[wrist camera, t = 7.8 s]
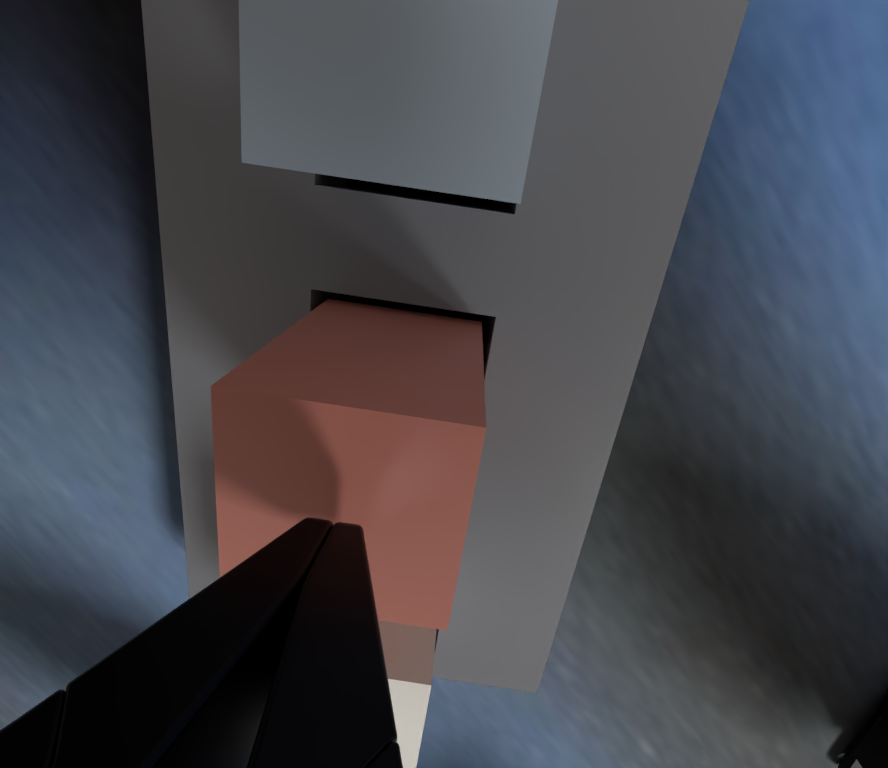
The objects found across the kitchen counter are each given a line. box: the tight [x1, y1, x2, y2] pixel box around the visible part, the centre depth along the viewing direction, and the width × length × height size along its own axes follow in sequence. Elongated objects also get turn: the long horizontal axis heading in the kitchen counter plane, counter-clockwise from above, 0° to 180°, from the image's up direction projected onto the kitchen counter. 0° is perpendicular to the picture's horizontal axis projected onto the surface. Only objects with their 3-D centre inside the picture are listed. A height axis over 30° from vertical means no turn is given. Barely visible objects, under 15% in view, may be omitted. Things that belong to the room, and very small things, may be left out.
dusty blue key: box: [239, 0, 558, 204], centre depth 9 cm, size 4×4×6 cm
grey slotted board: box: [141, 0, 749, 693], centre depth 14 cm, size 12×21×3 cm, turn 172°
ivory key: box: [378, 620, 436, 768], centre depth 14 cm, size 4×4×6 cm
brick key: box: [210, 299, 486, 631], centre depth 10 cm, size 4×4×6 cm
